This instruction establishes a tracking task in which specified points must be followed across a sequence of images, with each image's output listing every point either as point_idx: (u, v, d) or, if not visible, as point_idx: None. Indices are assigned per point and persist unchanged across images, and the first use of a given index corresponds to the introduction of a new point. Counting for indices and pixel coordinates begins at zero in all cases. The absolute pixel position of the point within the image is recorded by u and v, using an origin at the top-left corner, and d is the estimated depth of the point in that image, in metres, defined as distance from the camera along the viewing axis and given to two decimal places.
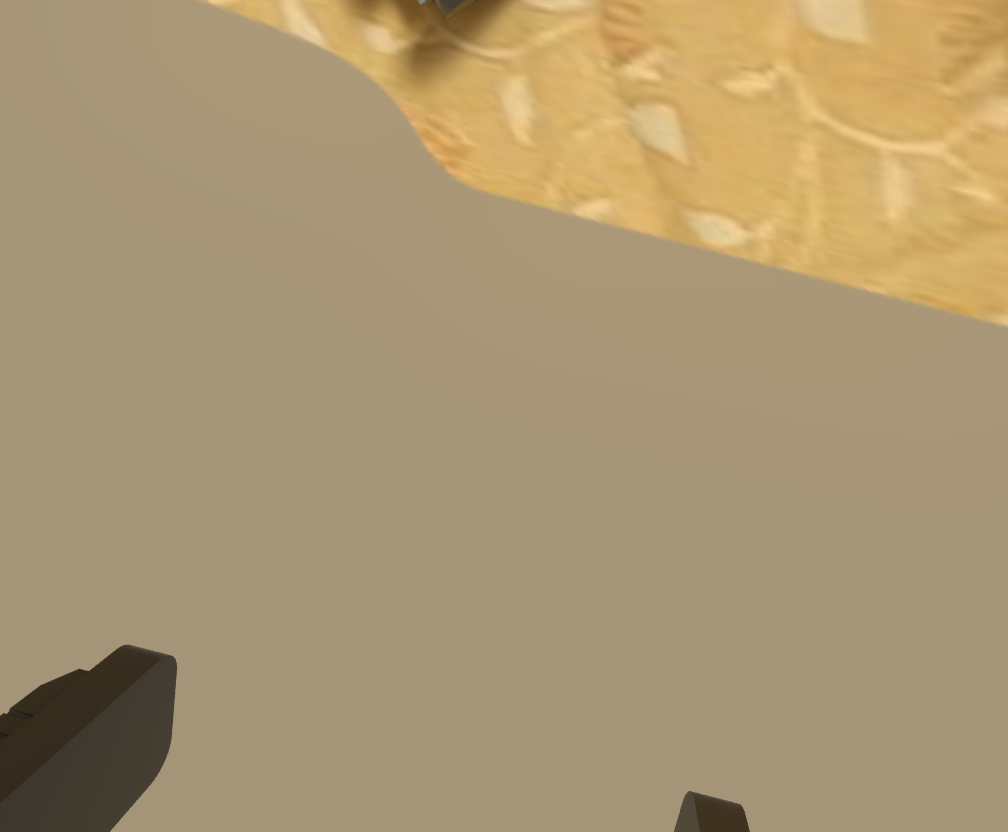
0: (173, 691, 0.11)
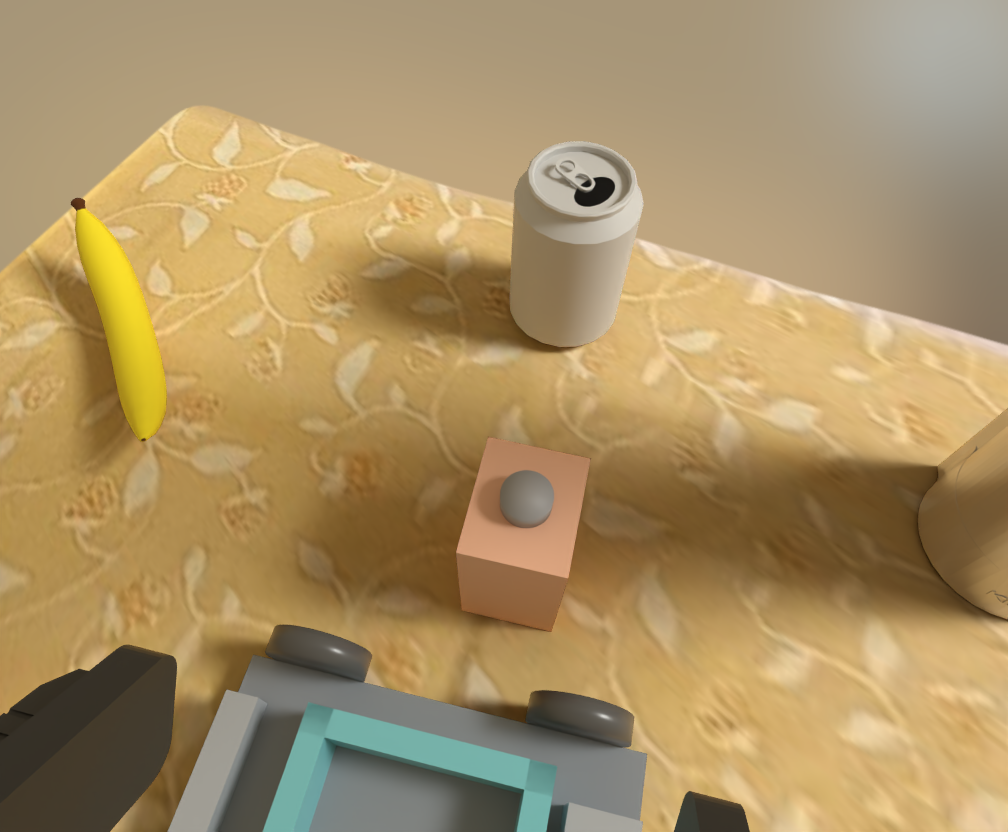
0: (173, 691, 0.11)
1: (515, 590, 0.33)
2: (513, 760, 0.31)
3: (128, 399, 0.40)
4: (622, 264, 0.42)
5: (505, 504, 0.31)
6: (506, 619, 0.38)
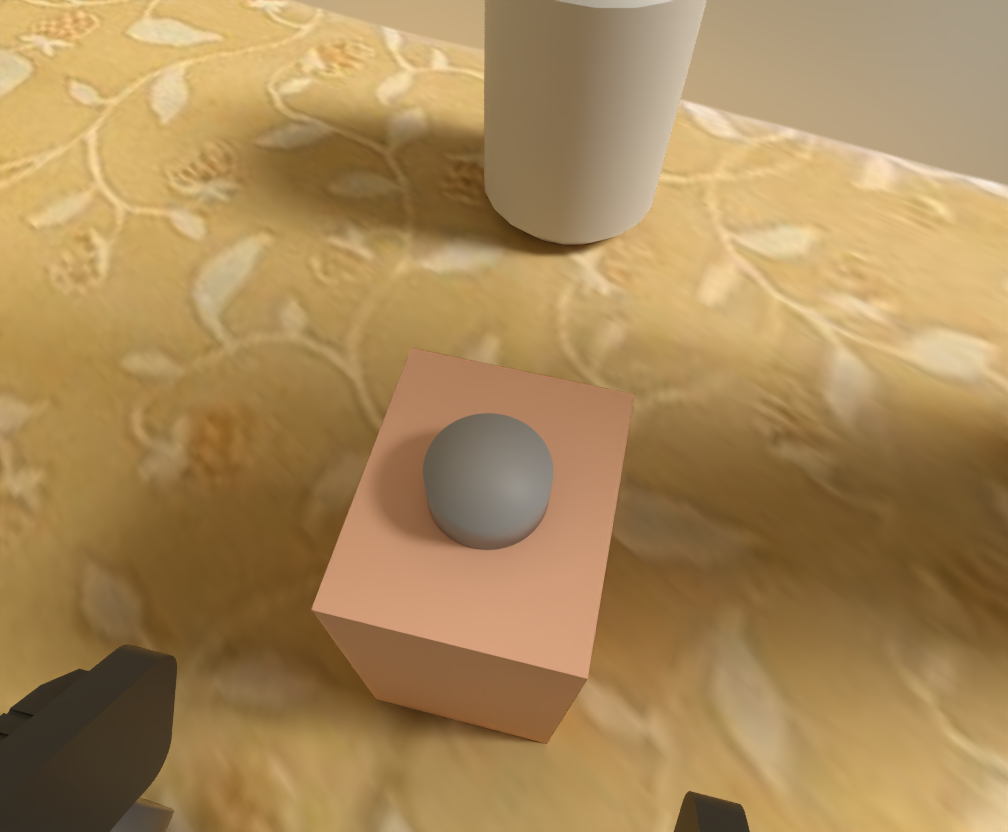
0: (173, 691, 0.11)
1: (466, 685, 0.15)
2: None
3: None
4: (676, 76, 0.24)
5: (434, 492, 0.13)
6: (460, 719, 0.20)
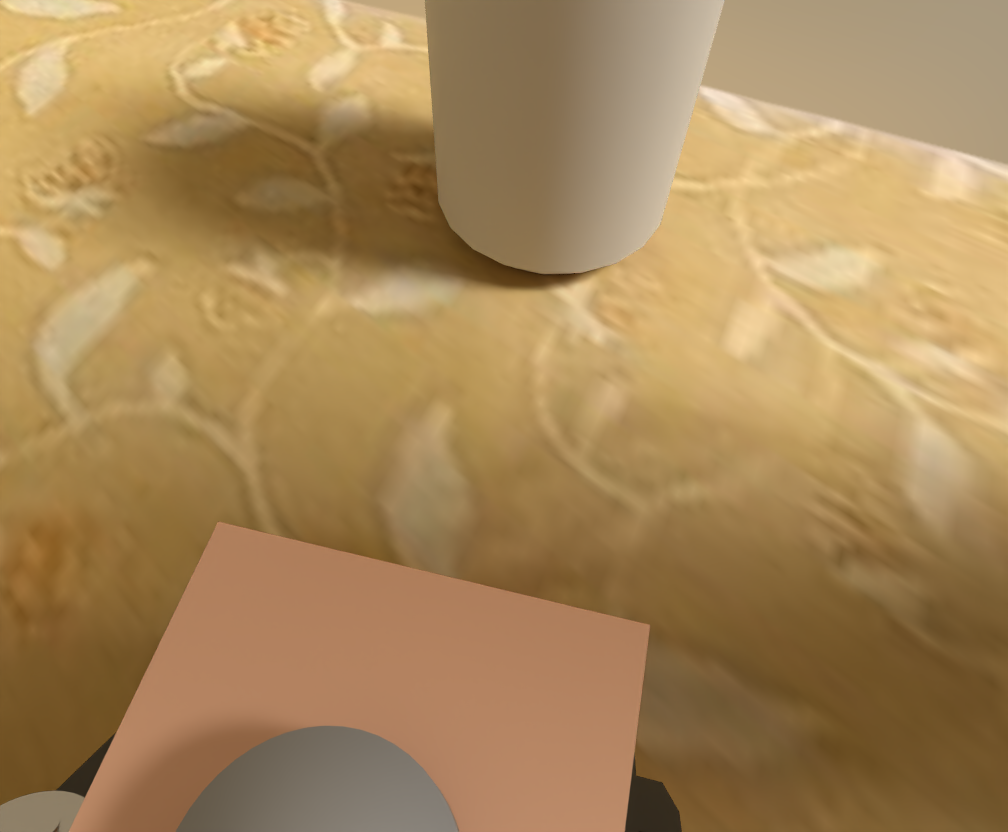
0: None
1: None
2: None
3: None
4: (699, 39, 0.16)
5: None
6: None
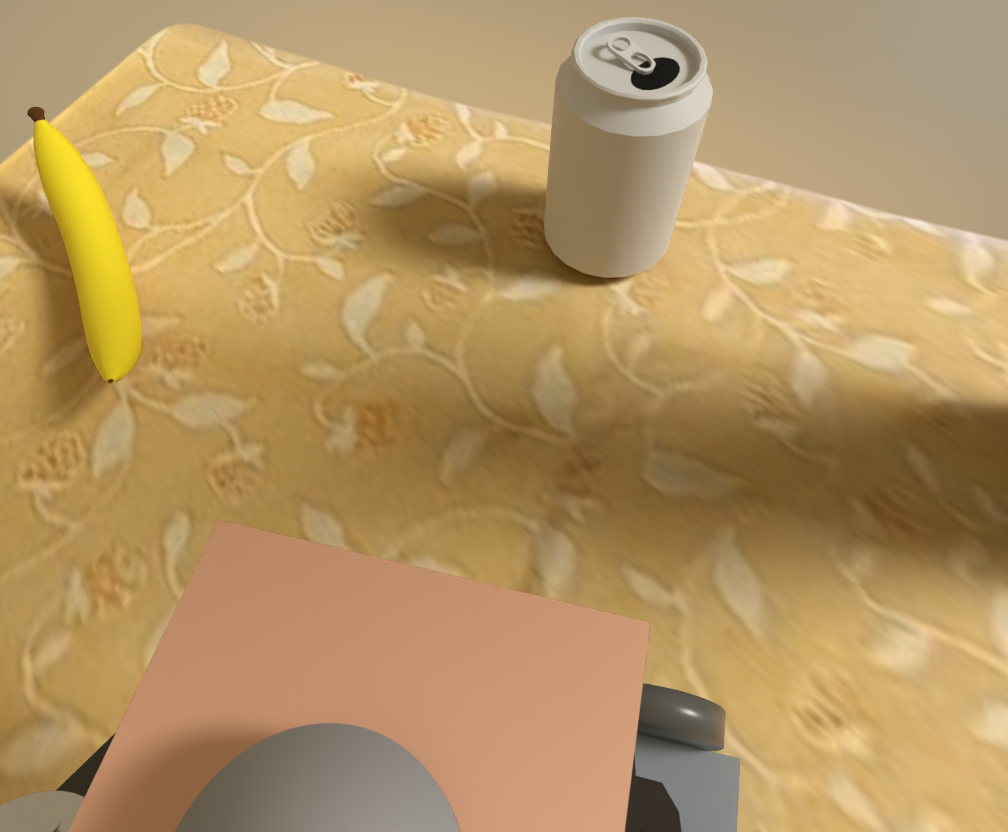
0: None
1: None
2: None
3: (94, 336, 0.33)
4: (685, 168, 0.35)
5: None
6: None
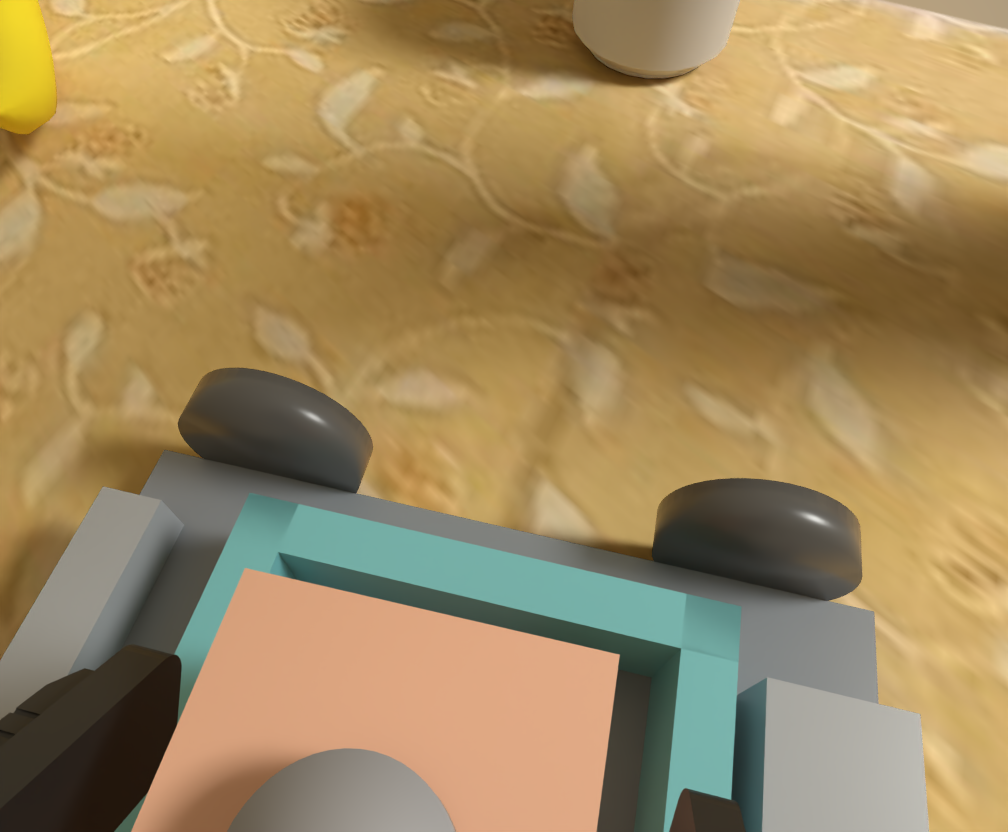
0: (178, 690, 0.11)
1: None
2: (653, 595, 0.15)
3: None
4: None
5: None
6: None
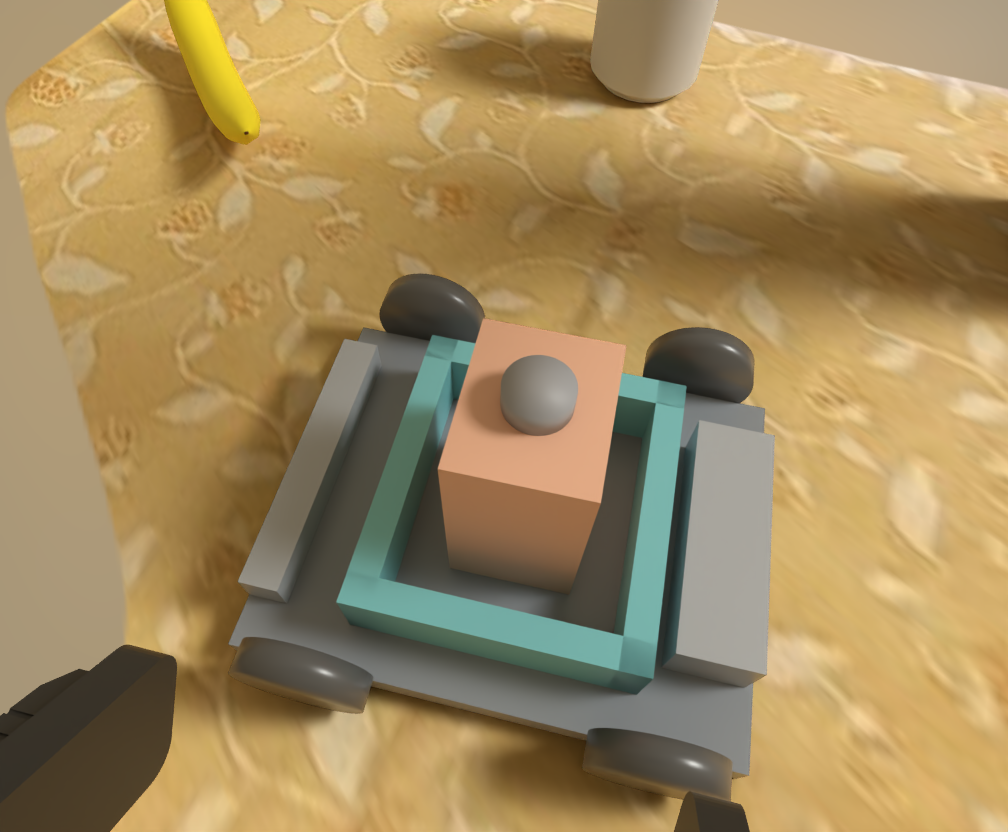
0: (173, 691, 0.11)
1: (522, 530, 0.24)
2: (642, 381, 0.30)
3: (226, 110, 0.40)
4: None
5: (508, 399, 0.21)
6: (509, 578, 0.28)
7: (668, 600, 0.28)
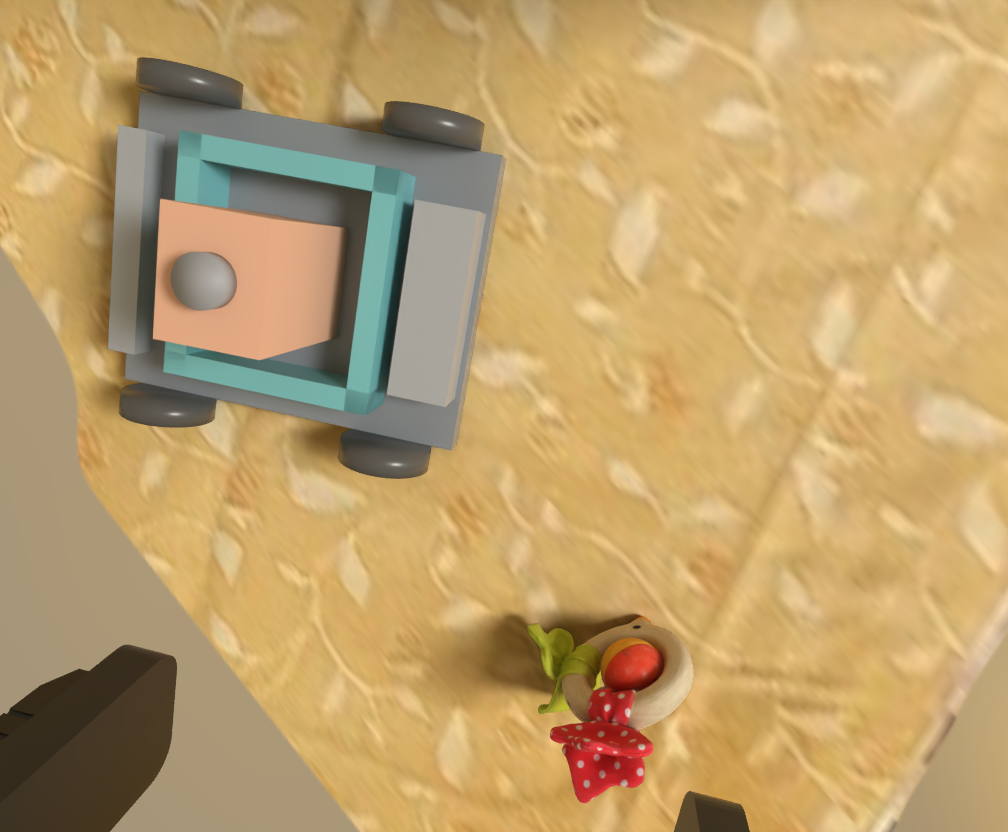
0: (173, 691, 0.11)
1: None
2: (361, 167, 0.34)
3: None
4: None
5: (177, 294, 0.29)
6: None
7: None
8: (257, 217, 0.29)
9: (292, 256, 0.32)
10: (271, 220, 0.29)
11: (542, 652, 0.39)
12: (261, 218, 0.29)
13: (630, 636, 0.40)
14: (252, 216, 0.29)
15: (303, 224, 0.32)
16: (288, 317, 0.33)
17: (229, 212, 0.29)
